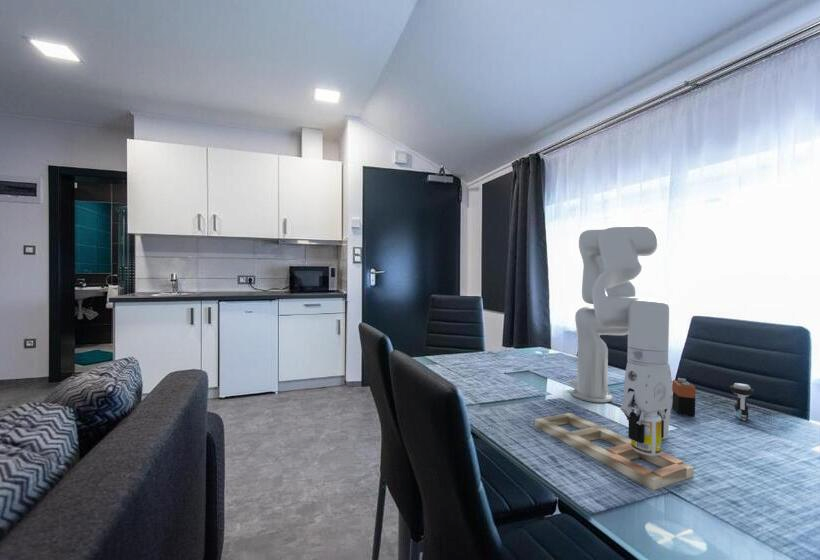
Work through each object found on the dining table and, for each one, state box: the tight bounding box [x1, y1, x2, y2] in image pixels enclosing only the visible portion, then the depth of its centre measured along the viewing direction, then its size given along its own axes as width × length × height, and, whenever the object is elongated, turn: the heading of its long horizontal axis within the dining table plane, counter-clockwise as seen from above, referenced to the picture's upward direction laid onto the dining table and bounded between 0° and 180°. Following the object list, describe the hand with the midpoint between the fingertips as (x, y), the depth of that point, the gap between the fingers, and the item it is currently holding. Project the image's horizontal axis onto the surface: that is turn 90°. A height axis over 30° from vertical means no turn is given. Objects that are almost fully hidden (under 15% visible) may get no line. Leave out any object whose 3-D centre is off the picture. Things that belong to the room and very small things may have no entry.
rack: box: [534, 412, 695, 491], centre depth 90 cm, size 33×13×2 cm, turn 23°
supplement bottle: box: [631, 405, 662, 456], centre depth 80 cm, size 6×6×10 cm
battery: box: [671, 377, 697, 417], centre depth 115 cm, size 4×7×10 cm, turn 160°
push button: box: [729, 382, 755, 421], centre depth 110 cm, size 7×5×10 cm
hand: (645, 437), depth 80 cm, fingers closed on supplement bottle, 5 cm apart
